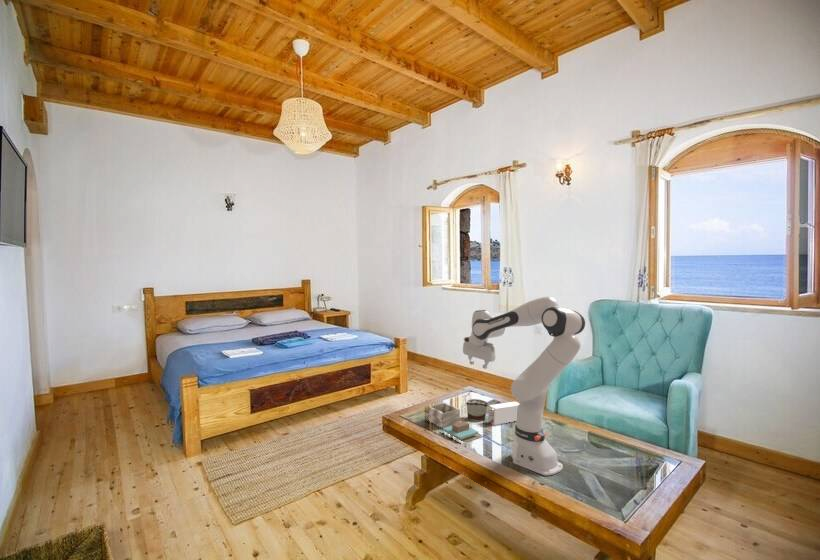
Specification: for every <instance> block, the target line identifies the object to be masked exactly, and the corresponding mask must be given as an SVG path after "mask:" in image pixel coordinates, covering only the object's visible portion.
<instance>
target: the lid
mask: <svg viewBox="0 0 820 560" xmlns="http://www.w3.org/2000/svg"><path fill="white" fill-rule="evenodd" d="M442 431H445V432H447V433H448V434H450V435H452V436H454V437H456V438H457V439H459V440H462V439H465V438H468V437H471V436H474V435H476V434H477V435H479V431H478V430H476V429H474V428H472V427H470V423H469V422H466V421H465V420H463V421H459V423H455V424H452V426H449V427H445V428H443V429H442Z"/></svg>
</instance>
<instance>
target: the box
mask: <svg viewBox="0 0 820 560" xmlns="http://www.w3.org/2000/svg"><path fill="white" fill-rule="evenodd" d="M427 413H428V415H427V416H428V417H427V421H428V420H429V421H431V422H432V423H434V424H436V425H437V426H436V425H435V426H436V427H438V426H439V427H438V428H440V427H441V428H440V429H442V428H445V427H449V426H452V424H455V423H459V422H460V417H461V416H460V415H461V409H460V408H457V407H455V406H453V405H451V404H449V403H446V402H443V403H439V404H435V405H431V406H428V412H427ZM429 421H428V422H429ZM431 422H430V423H431ZM432 423H431V424H432ZM434 424H433V425H434Z"/></svg>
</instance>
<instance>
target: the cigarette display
mask: <svg viewBox="0 0 820 560" xmlns="http://www.w3.org/2000/svg"><path fill="white" fill-rule="evenodd" d="M519 404H520V402H518V401H509V402H503V403H502V402H501V403H497V404H489V405H488V407H490V408H492V409H489V410H488V424H491V425H493V426H498V425H504V424H509V422H510V423H514V421H515V422H517V408H518V406H519Z"/></svg>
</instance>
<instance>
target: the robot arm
mask: <svg viewBox="0 0 820 560" xmlns="http://www.w3.org/2000/svg"><path fill="white" fill-rule="evenodd" d="M540 324H542V326H543V327H544V328H545V330H546V331H547V333H548V335H549V336H551V337H553V339H552V341H551V342H550V343H549V344H548V345H547V347H545V349H543V351H542V352H541V353H540V355H538V357H537V358H536V359H535V360H534V361H533V362H532V363H531V364H530V365H528V366H527V368H525V369H524V370H523V371H522V372H521V374H519V375H518V376H517V377H516V379H514V380H513V382H512V383H511V385H510V391H511V392H510V393H511V395H512V396H513V398H514V399H515V400H517V401H519V403H520V404H519V406H518V408H517V421H515V422H516V424H515V426H514V434H515V435H514V444H513V447H512V451H511V454H510V457H511V458H512V463H513V464H515V465H517V466H520V467H522V468H524V469H527V470H530V471H532V472H534V473H537V474H539V475H542V476H553V475H555V474H559V473H560V472H561V471H562V470H563V469H564V467H563V463H561V462H559V461H558V453H557V452H556V450H555V449H554V447H552V445H551V444H549V442H548V441H547V440H546V436H547V434H548V433H547V432H546V433H544V429H543V414H544V410H545V409H544V408H545V404H546V401H547V396H548V391H549V389H550V387H551V383H552V382H553V381H554V380H555V379H557V378H558V376H560V374H561V373H562V372H563V371H564V370H565V369H566V368H567V366H569V364H570V363H571V362H572V361H573V360H574V358H575V357H576V356H577V354H578V352H579V351H580V348H581V342H580V340H579V338H578V337H577V336H576V335H578V334H581V333H582V332H583V331H584V329H585V328H586V320H585V318H584V316H583V315H582V314H581V313H580V312H578V311H576V310H571V309H569V308H565V307H560V306H559V303H558V301H557V299H556V298H554V297H553V296H552V297H551V296H544V297H539V298H536V299H533V300H529V301H528V302H525V303H523V304H521V305H520V306H517V307H515V308H514V309H512V310H509V311H507V312H505V313H502V314H500V315H497V316H494V315H492V314H491V313H490V312H489V311H488V310H486V309H481V310H480V309H479V310H475V311H474V312H473V314H472V317H471V334H470V336H465V337H463V341H464V342H463V346H462V352H463V354H464V355H465V356H467V358H468V360H469V365H475V363H474V362H475V361H474V359H473V358H476V359H479V360H483V361H484V364H483V365H482V369H484V370H485V369H487V368H488V365H489V363H492V362H495V360H496V350H495V348H496V347H495V345H494V344H493V343H491V342H489V339H492V338H498V337H501V336H503V334H504V333H505V330H506V328H507V329H508V328H512V327H530V326H535V325H540Z"/></svg>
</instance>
